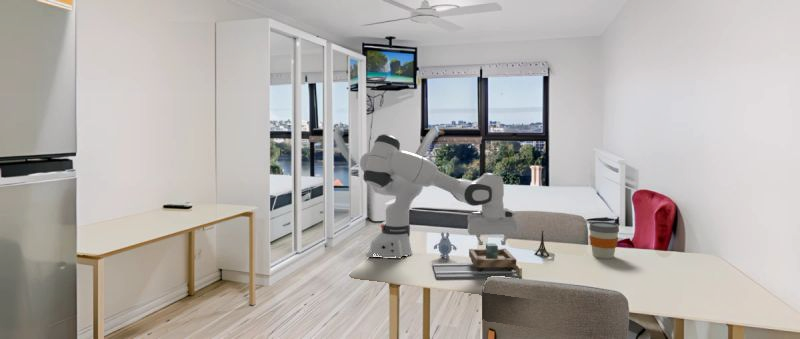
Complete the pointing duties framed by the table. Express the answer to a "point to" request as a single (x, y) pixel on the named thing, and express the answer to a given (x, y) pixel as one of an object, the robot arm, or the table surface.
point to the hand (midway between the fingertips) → (492, 244)
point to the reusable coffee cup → (603, 238)
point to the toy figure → (445, 245)
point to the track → (472, 271)
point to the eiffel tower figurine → (544, 250)
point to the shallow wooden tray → (503, 259)
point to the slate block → (491, 251)
